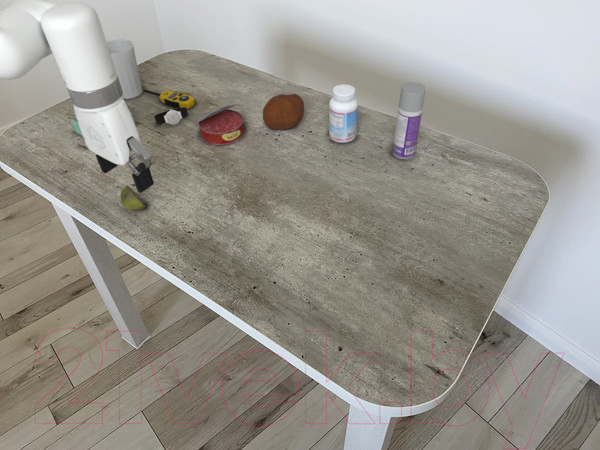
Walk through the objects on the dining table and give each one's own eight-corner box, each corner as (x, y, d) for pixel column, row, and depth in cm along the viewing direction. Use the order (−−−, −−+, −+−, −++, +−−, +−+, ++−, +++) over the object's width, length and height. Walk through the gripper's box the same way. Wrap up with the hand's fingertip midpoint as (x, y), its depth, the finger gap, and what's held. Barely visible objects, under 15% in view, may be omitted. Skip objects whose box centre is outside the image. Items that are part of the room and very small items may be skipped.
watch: (159, 130, 110) (155, 116, 107) (153, 120, 113) (149, 106, 110) (191, 120, 112) (188, 107, 110) (185, 111, 115) (182, 98, 113)
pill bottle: (352, 126, 109) (354, 80, 101) (359, 142, 105) (362, 95, 97) (325, 129, 108) (326, 83, 100) (331, 145, 104) (333, 98, 96)
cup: (127, 82, 126) (114, 37, 118) (152, 88, 124) (140, 42, 115) (106, 96, 121) (91, 50, 113) (131, 103, 119) (117, 56, 110)
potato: (313, 122, 111) (313, 92, 105) (282, 143, 105) (280, 113, 100) (286, 110, 115) (285, 80, 109) (254, 129, 109) (251, 99, 104)
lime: (132, 198, 93) (125, 177, 90) (154, 203, 92) (147, 182, 88) (118, 213, 90) (110, 192, 87) (141, 218, 89) (133, 198, 85)
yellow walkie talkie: (185, 104, 114) (136, 90, 119) (186, 111, 115) (138, 97, 120) (197, 95, 117) (149, 82, 122) (198, 102, 118) (150, 89, 123)
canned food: (210, 160, 109) (181, 130, 102) (215, 131, 115) (189, 101, 108) (252, 142, 104) (225, 109, 98) (255, 112, 111) (230, 80, 104)
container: (414, 147, 103) (426, 82, 92) (414, 160, 99) (426, 94, 89) (392, 145, 103) (401, 80, 93) (391, 158, 100) (400, 93, 90)
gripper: (42, 86, 76) (81, 172, 88) (111, 118, 68) (143, 208, 80) (82, 67, 80) (114, 152, 92) (152, 96, 72) (177, 184, 84)
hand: (128, 178), depth 86 cm, fingers open, 9 cm apart
